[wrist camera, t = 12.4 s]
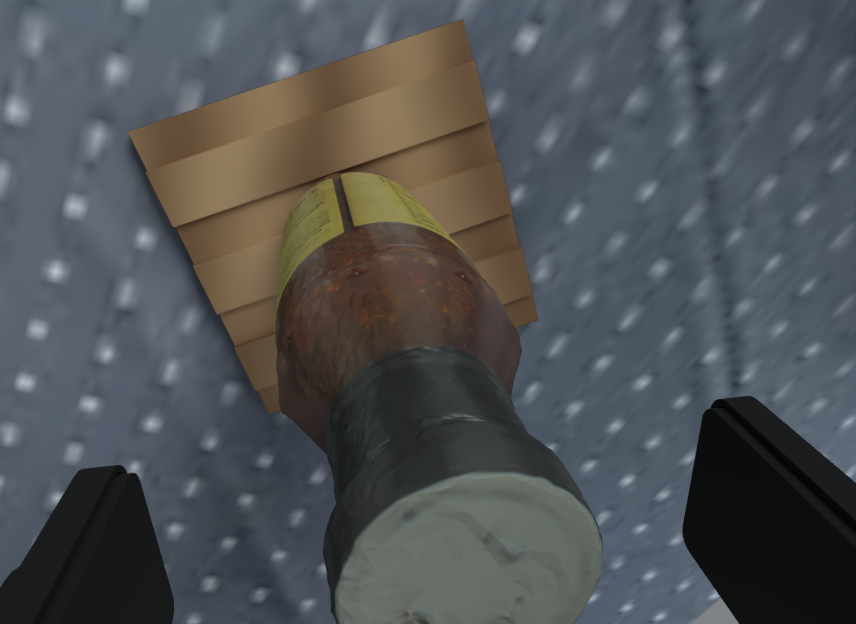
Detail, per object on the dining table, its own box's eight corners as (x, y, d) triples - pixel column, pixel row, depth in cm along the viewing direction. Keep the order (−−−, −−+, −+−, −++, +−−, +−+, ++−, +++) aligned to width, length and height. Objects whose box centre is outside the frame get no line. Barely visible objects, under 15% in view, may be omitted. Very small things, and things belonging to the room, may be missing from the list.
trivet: (458, 20, 25) (464, 18, 24) (533, 313, 31) (540, 322, 30) (133, 129, 25) (125, 132, 24) (270, 406, 30) (268, 417, 29)
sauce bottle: (310, 318, 28) (286, 807, 10) (264, 185, 25) (112, 511, 7) (447, 279, 28) (675, 680, 10) (415, 145, 25) (644, 354, 7)
